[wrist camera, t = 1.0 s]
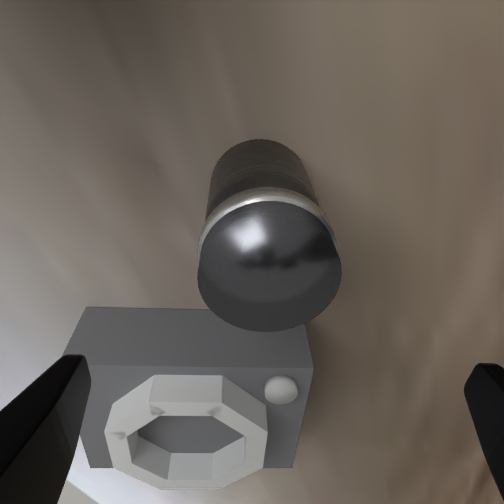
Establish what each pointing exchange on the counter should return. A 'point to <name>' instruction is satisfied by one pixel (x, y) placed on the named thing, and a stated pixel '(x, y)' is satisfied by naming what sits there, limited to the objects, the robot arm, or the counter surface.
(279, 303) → the lens
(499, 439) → the robot arm
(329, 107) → the counter surface
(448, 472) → the counter surface
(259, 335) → the camera body
